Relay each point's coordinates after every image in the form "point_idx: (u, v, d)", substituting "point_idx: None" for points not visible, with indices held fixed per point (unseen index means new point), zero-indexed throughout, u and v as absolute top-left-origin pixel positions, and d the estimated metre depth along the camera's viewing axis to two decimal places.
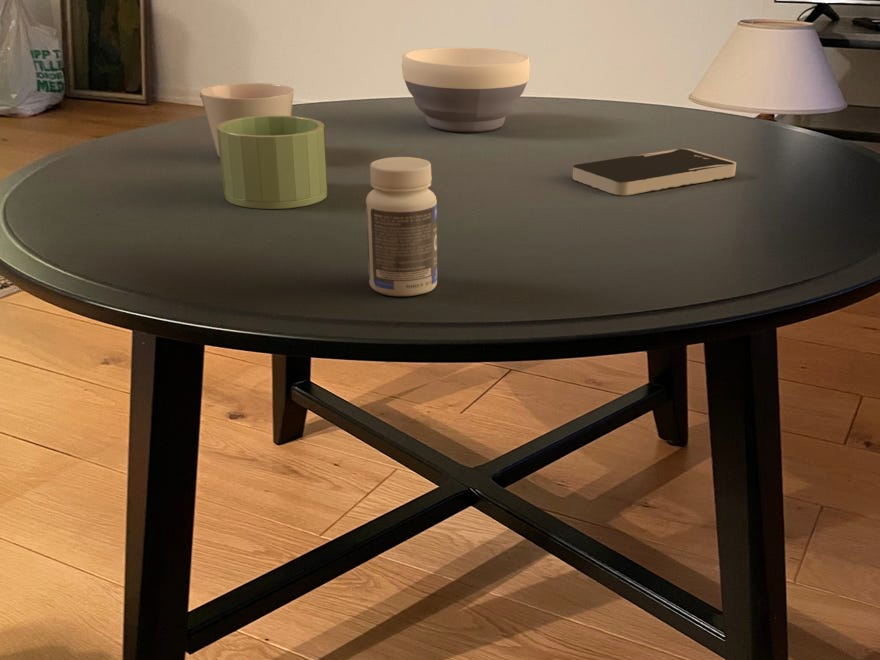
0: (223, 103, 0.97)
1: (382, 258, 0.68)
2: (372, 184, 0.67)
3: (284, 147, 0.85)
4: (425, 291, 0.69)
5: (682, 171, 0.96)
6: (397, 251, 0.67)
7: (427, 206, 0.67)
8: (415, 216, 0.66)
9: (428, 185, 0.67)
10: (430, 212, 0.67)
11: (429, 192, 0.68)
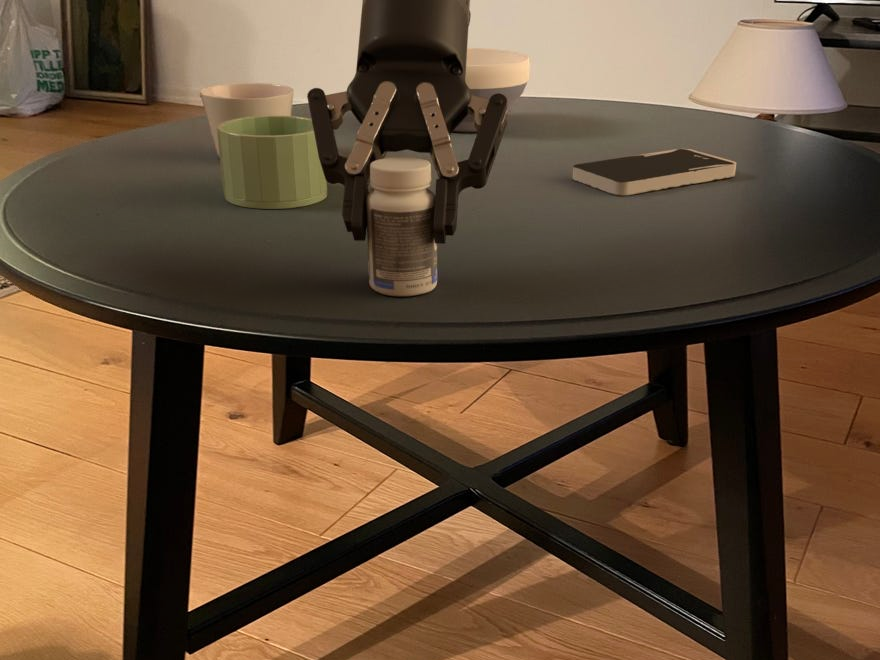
0: (223, 103, 0.97)
1: (382, 258, 0.68)
2: (372, 184, 0.67)
3: (284, 147, 0.85)
4: (425, 291, 0.69)
5: (682, 171, 0.96)
6: (397, 251, 0.67)
7: (427, 206, 0.67)
8: (414, 216, 0.66)
9: (428, 185, 0.67)
10: (430, 212, 0.67)
11: (429, 192, 0.68)
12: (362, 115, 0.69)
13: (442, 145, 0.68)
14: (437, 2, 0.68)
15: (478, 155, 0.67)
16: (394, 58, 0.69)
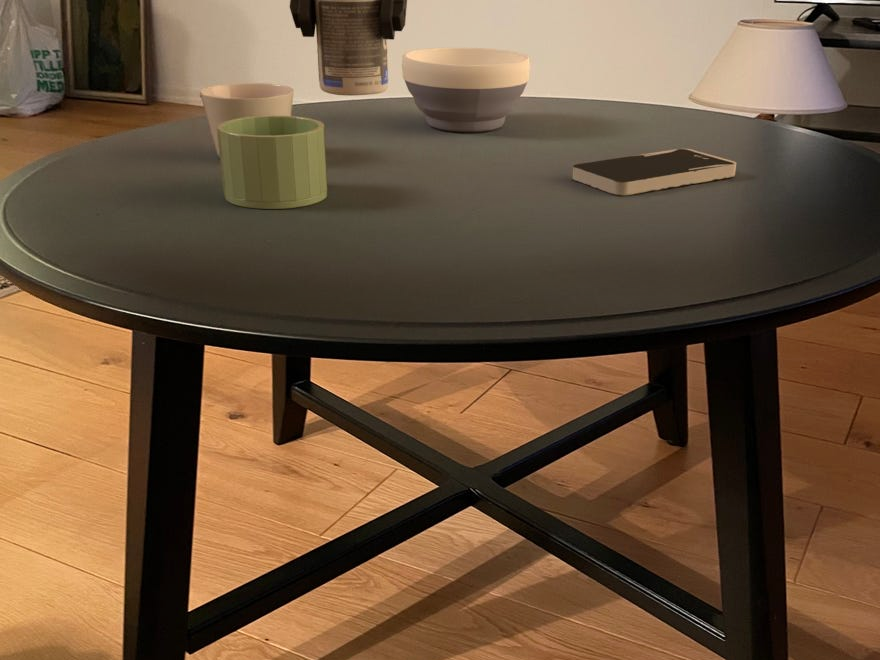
0: (223, 103, 0.97)
1: (331, 54, 0.68)
2: None
3: (284, 147, 0.85)
4: (375, 91, 0.69)
5: (682, 171, 0.96)
6: (345, 45, 0.67)
7: None
8: (362, 7, 0.66)
9: None
10: (378, 5, 0.67)
11: None
12: None
13: None
14: None
15: None
16: None
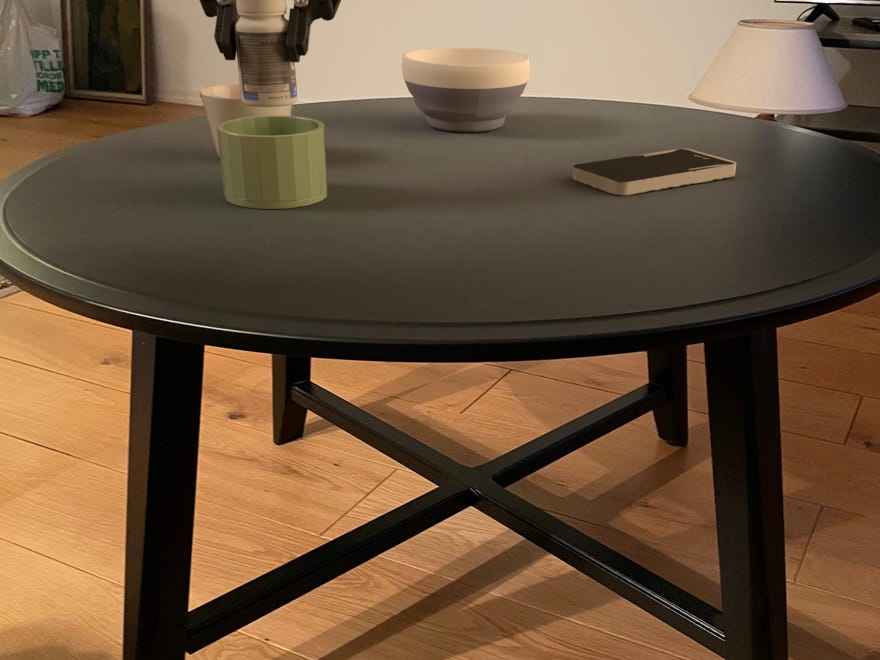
0: (223, 103, 0.97)
1: (248, 74, 0.84)
2: (238, 12, 0.83)
3: (284, 147, 0.85)
4: (285, 103, 0.86)
5: (682, 171, 0.96)
6: (259, 66, 0.84)
7: (282, 29, 0.83)
8: (271, 37, 0.83)
9: (283, 13, 0.83)
10: (285, 35, 0.84)
11: (285, 19, 0.84)
12: None
13: None
14: None
15: None
16: None
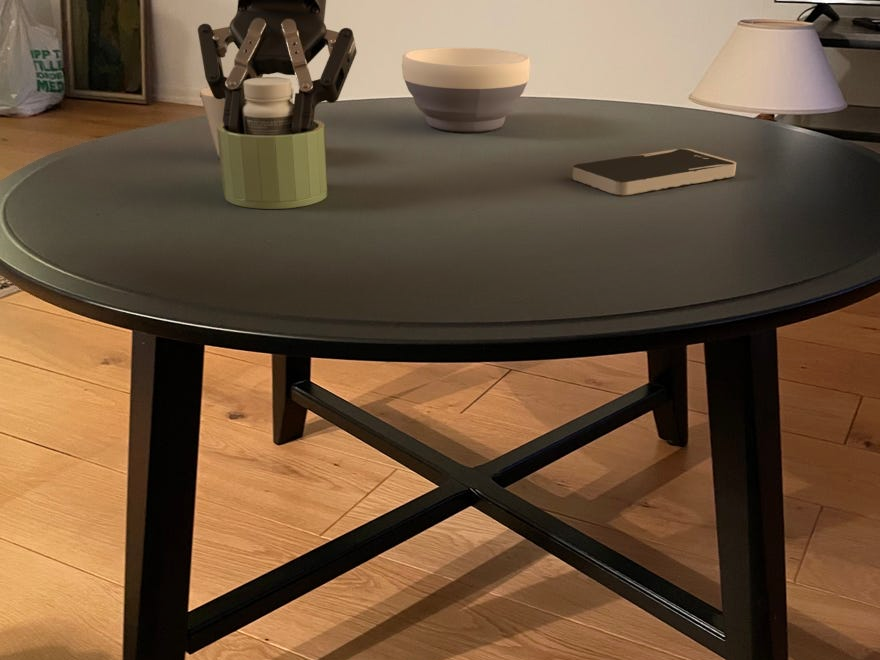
0: (223, 103, 0.97)
1: None
2: (245, 97, 0.86)
3: (284, 147, 0.85)
4: None
5: (682, 171, 0.96)
6: None
7: (288, 114, 0.86)
8: (277, 121, 0.86)
9: (289, 97, 0.86)
10: (291, 119, 0.87)
11: (290, 103, 0.87)
12: (240, 45, 0.88)
13: (300, 67, 0.87)
14: None
15: (328, 75, 0.87)
16: (265, 0, 0.88)
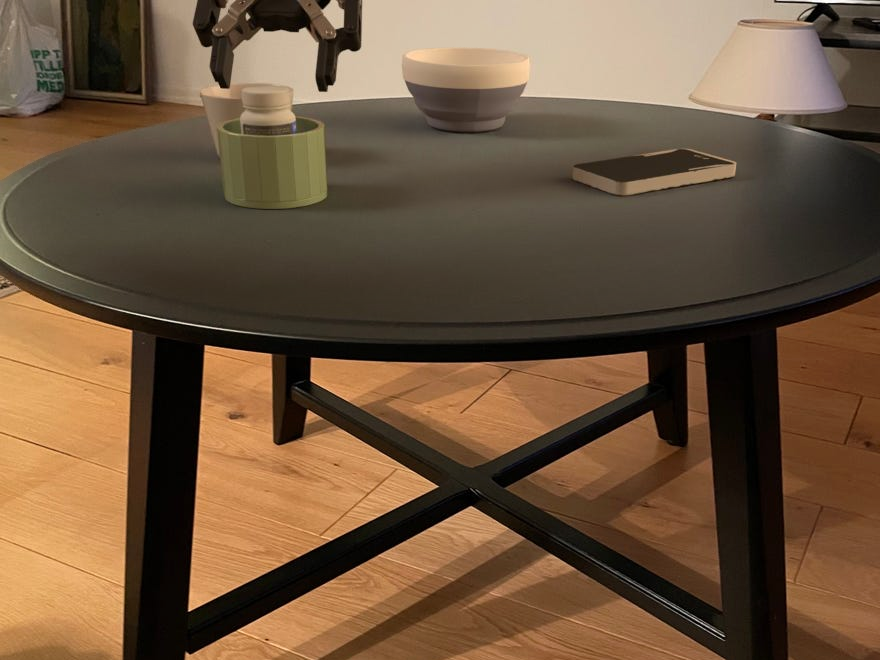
0: (223, 103, 0.97)
1: None
2: (243, 105, 0.87)
3: (284, 147, 0.85)
4: None
5: (682, 171, 0.96)
6: None
7: (286, 122, 0.87)
8: (275, 129, 0.86)
9: (287, 106, 0.87)
10: (289, 127, 0.87)
11: (288, 112, 0.87)
12: None
13: (318, 17, 0.88)
14: None
15: (350, 23, 0.88)
16: None
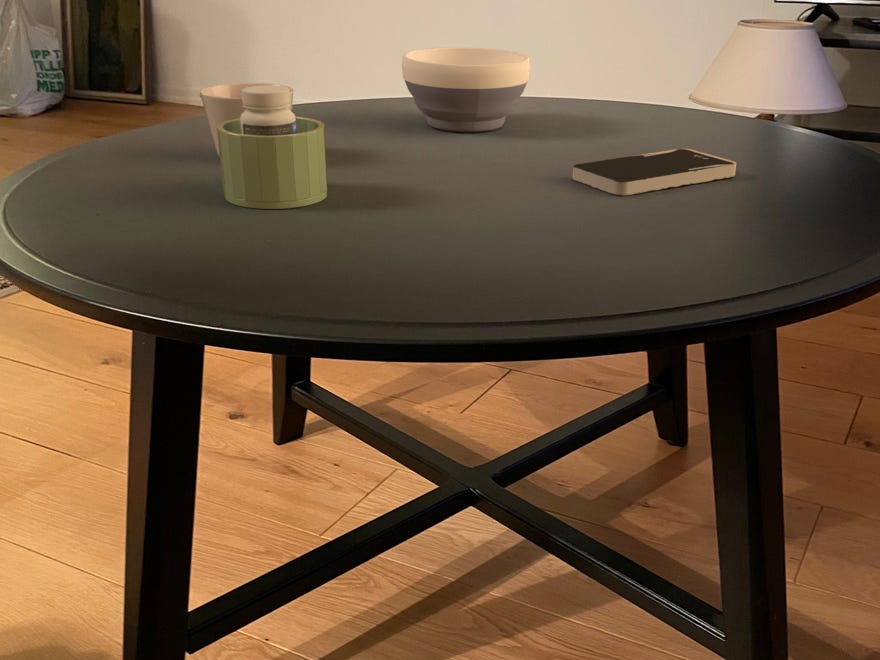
0: (223, 103, 0.97)
1: None
2: (243, 105, 0.87)
3: (284, 147, 0.85)
4: None
5: (682, 171, 0.96)
6: None
7: (286, 122, 0.87)
8: (275, 129, 0.86)
9: (287, 106, 0.87)
10: (289, 127, 0.87)
11: (288, 112, 0.87)
12: None
13: None
14: None
15: None
16: None
